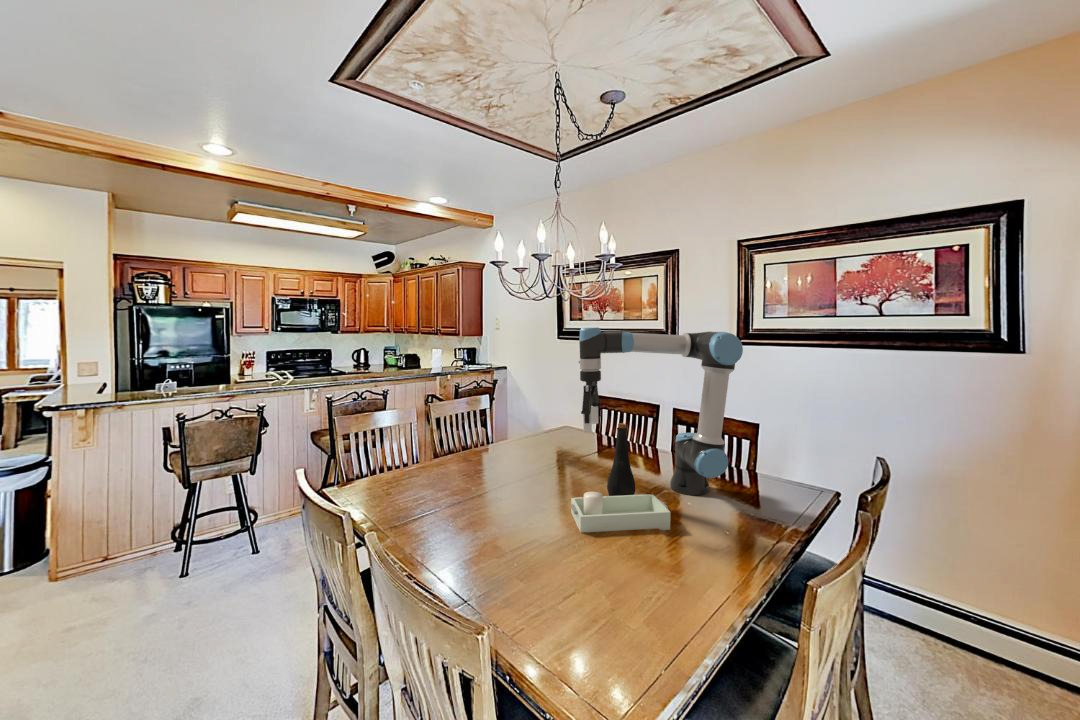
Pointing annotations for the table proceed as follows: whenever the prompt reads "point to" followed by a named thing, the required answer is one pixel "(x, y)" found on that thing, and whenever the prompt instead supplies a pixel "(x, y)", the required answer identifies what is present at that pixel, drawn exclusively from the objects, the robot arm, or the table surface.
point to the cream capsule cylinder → (593, 503)
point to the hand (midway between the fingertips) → (591, 427)
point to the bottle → (621, 467)
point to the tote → (623, 514)
